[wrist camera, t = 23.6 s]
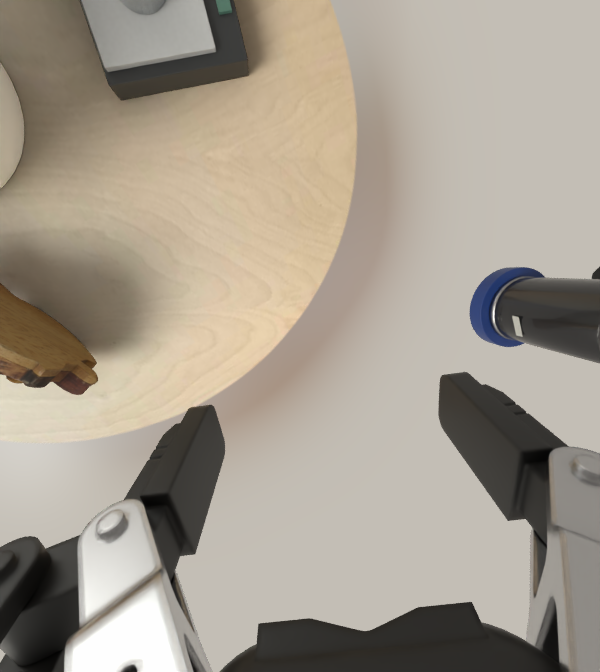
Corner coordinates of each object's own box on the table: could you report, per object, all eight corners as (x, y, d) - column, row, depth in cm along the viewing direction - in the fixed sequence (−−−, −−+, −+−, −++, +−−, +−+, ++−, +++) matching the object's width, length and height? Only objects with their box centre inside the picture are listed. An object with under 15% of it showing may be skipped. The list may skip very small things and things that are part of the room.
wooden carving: (-39, 294, 30) (-177, 305, 21) (-14, 260, 30) (-143, 256, 20) (104, 383, 34) (45, 428, 25) (127, 355, 34) (76, 388, 24)
